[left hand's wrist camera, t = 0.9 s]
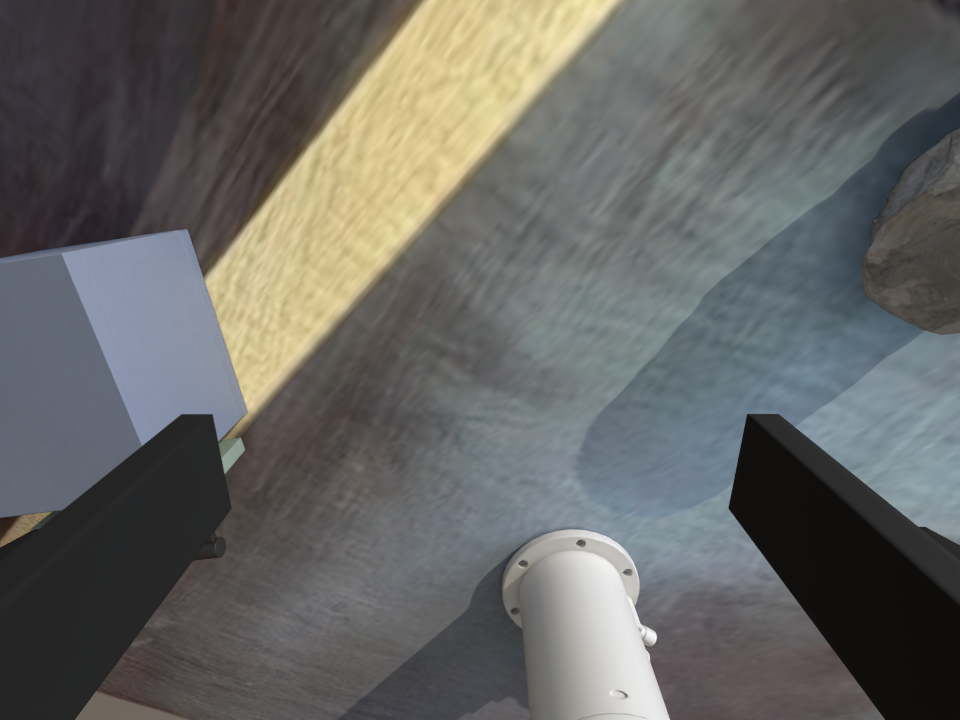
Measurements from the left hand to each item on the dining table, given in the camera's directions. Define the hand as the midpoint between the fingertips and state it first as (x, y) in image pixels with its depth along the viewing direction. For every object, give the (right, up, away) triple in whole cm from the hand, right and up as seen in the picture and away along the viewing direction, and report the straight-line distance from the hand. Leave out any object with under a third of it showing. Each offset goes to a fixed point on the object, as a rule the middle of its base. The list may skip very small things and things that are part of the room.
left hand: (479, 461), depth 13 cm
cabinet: (-25, +4, +27) cm, 37 cm away
